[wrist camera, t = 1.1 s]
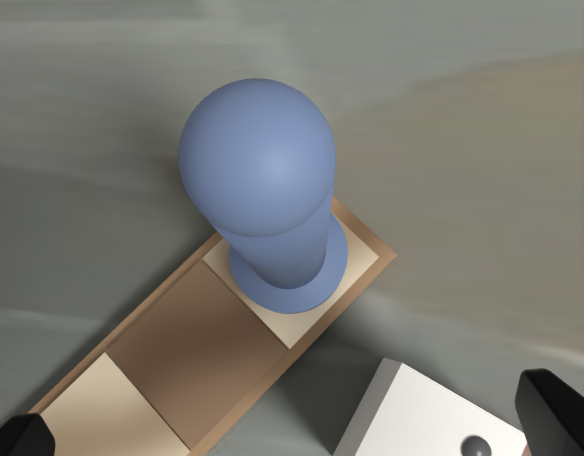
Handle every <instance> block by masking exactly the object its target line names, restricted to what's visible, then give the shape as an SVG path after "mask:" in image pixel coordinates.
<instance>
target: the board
mask: <svg viewBox="0 0 584 456" xmlns="http://www.w3.org/2000/svg"><path fill="white" fill-rule="evenodd" d="M330 212H331V213H332V214H333V215H334V216H335V217H336V219H337V220H338V221H339V223H340V225H341V227H342V228H343V231H344V234H345V236H346V240H347V246H348V260H347V266H346V269H345V273H344V275H343V277H342V280H341V282H340V284H339V286H338V287H337V289H336V290H335V292H334V293H333V294H332V295H331V297H330V298H328V299H327V300H326V301H325V302H324V303H322V304H321V305H319V306H318V307H316V308H314V309H312V310H309V311H306V312H303V313H298V314H282V313H277V312H273V311H270V310H268V309H266V308H264V307H262V306H260V305H258V304H256V303H255V302H253V301H252V300H251V299H250V298H248V297H247V296H246V295H245V294H244V293H243V291H242V290H241V289H240V288H239V286H238V285H237V283H236V281H235V279H234V277H233V275H232V271H231V268H230V263H229V245H230V244H229V243H228V242H227V241H226V240H225V239H224V238H223V237H222V235H221V234H220V233H219V232H218V231H216V232H215V233H214V234H213V235H212V236H211V237H210V238H209V239H208V240H207V241H206V242H205V243H204V244H203V245H202V246H201V247H199V248H198V249H197V250H196V251H195V252H194V253H193V254H192V255H191V256H190V257H189V258H188V259H187V260H186V261H185V262H184V263H183V264H182V265H181V266H180V267H179V268H178V269H177V270H176V271H174V272H173V273H172V274H171V275H170V276H169V277H168V278H167V279H166V280H165V281H164V282H163V283H162V284H161V285H160V286H159V287H158V288H157V289H156V290H155V291H154V292H153V293H152V294H151V295H149V296H148V297H147V298H146V299H145V300H144V301H143V302H142V303H141V304H140V305H139V306H138V307H137V308H136V309H135V310H134V311H133V312H132V313H131V314H130V315H129V316H128V317H127V318H125V319H124V320H123V321H122V322H121V323H120V324H119V325H118V326H117V327H116V328H115V329H114V330H113V331H112V332H111V333H110V334H109V335H108V336H107V337H106V338H105V339H104V340H103V341H102V342H100V343H99V344H98V345H97V346H96V347H95V348H94V349H93V350H92V351H91V352H90V353H89V354H88V355H87V356H86V357H85V358H84V359H83V360H82V361H81V362H80V363H79V364H78V365H77V366H75V367H74V368H73V369H72V370H71V371H70V372H69V373H68V374H67V375H66V376H65V377H64V378H63V379H62V380H61V381H60V382H59V383H58V384H57V385H56V386H55V387H54V388H53V389H52V390H50V391H49V392H48V393H47V394H46V395H45V396H44V397H43V398H42V399H41V400H40V401H39V402H38V403H37V404H36V405H35V406H34V407H33V408H32V409H31V410H30V411H29V412H28V413H38V414H40V415H41V416H42V418H43V420H44V421H45V423H46V424H47V426H48V428H49V429H50V431H51V433H52V434H53V436H54V438H55V444H56V447H55V454H54V456H204V455H205V454H206V453H207V452H208V451H209V450H210V449H211V448H212V447H213V446H214V445H215V444H216V443H217V442H218V441H219V440H220V439H221V438H222V437H223V436H224V434H225V433H226V432H227V431H228V430H229V429H230V428H231V427H232V426H233V425H234V424H235V423H236V422H237V421H238V420H239V419H240V418H241V417H242V416H243V415H244V414H245V413H246V412H247V411H248V410H249V409H250V408H251V406H252V405H253V404H254V403H255V402H256V401H257V400H258V399H259V398H260V397H261V396H262V395H263V394H264V393H265V392H266V391H267V390H268V389H269V388H270V387H271V386H272V385H273V384H274V383H275V382H276V381H277V379H278V378H279V377H280V376H281V375H282V374H283V373H284V372H285V371H286V370H287V369H288V368H289V367H290V366H291V365H292V364H293V363H294V362H295V361H296V360H297V359H298V358H299V357H300V356H301V355H302V354H303V353H304V351H305V350H306V349H307V348H308V347H309V346H310V345H311V344H312V343H313V342H314V341H315V340H316V339H317V338H318V337H319V336H320V335H321V334H322V333H323V332H324V331H325V330H326V329H327V328H328V327H329V326H330V324H331V323H332V322H333V321H334V320H335V319H336V318H337V317H338V316H339V315H340V314H341V313H342V312H343V311H344V310H345V309H346V308H347V307H348V306H349V305H350V304H351V303H352V302H353V301H354V300H355V299H356V298H357V296H358V295H359V294H360V293H361V292H362V291H363V290H364V289H365V288H366V287H367V286H368V285H369V284H370V283H371V282H372V281H373V280H374V279H375V278H376V277H377V276H378V275H379V274H380V273H381V272H382V271H383V269H384V268H385V267H386V266H387V265H388V264H389V263H390V262H391V261H392V260H393V259H394V258H395V257H396V256H397V254H396V253H395V252H394V251H392V250H391V249H390V248H389V247H388V246H387V245H386V244H385V243H384V242H383V241H382V240H381V239H379V238H378V237H377V236H376V235H375V234H374V233H373V232H372V231H371V230H370V229H369V228H368V227H366V226H365V225H364V224H363V223H362V222H361V221H360V220H359V219H358V218H357V217H356V216H355V215H354V214H352V213H351V212H350V211H349V210H348V209H347V208H346V207H345V206H344V205H343V204H342V203H341V202H339V201H338V200H337V199H336V198H335V197H334V196H333V195H332V203H331V211H330Z"/></svg>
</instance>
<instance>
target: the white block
mask: <svg viewBox="0 0 584 456" xmlns="http://www.w3.org/2000/svg"><path fill="white" fill-rule="evenodd" d="M526 444H527V441H526V438H525V435H524V433H523V432H521V431H519V430H517V429H516V428H514V427H512V426H511V425H509V424H507V423H505V422H504V421H502V420H500V419H498V418H497V417H495V416H493V415H492V414H490V413H488V412H486V411H485V410H483V409H481V408H479V407H478V406H476V405H474V404H473V403H471V402H469V401H467V400H466V399H464V398H462V397H461V396H459V395H457V394H455V393H454V392H452V391H450V390H448V389H447V388H445V387H443V386H442V385H440V384H438V383H436V382H435V381H433V380H431V379H429V378H428V377H426V376H424V375H423V374H421V373H419V372H417V371H416V370H414V369H412V368H410V367H409V366H407V365H405V364H404V363H401V362H398V361H395V360H391V359H388V358H383V360H382V362H381V363H380V365H379V367H378V369H377V371H376V373H375V375H374V377H373V379H372V381H371V383H370V385H369V386H368V388H367V390H366V392H365V394H364V396H363V398H362V400H361V402H360V404H359V406H358V408H357V410H356V411H355V413H354V415H353V417H352V419H351V421H350V423H349V425H348V427H347V429H346V431H345V433H344V435H343V436H342V438H341V440H340V442H339V444H338V446H337V448H336V450H335V452H334V454H333V456H521V455H522V453H523V450H524V448H525V446H526Z"/></svg>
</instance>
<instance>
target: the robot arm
mask: <svg viewBox="0 0 584 456" xmlns="http://www.w3.org/2000/svg"><path fill="white" fill-rule="evenodd" d="M515 407H516V411H517V415H518V417H519V420H520V423H521V426H522V429H523V432H524V435H525V438H526V441H527V444H528V447H529V450H530V452H531V455H532V456H584V397H583V396H582V395H581V394H579V393H578V392H577V391H575V390H574V389H573V388H571V387H570V386H569V385H568V384H566V383H565V382H564V381H562V380H561V379H560V378H559V377H557V376H556V375H555V374H553V373H552V372H551V371H549V370H547V369H543V368H540V369H528V370H524V371H523V372H522V373H521V375H520V379H519V383H518V387H517V391H516V396H515ZM55 447H56V444H55V438H54V436H53V434H52V433H51V431H50V429H49V428H48V426H47V424H46V423H45V421H44V420H43V418H42V416H41V415H40V414H38V413H25V414H18V415H15V416H13V417H12V418H10V419H9V420H8V421H7V422H6V423H5V424H4V425H3V426H2V427H1V428H0V456H54V454H55Z"/></svg>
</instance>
